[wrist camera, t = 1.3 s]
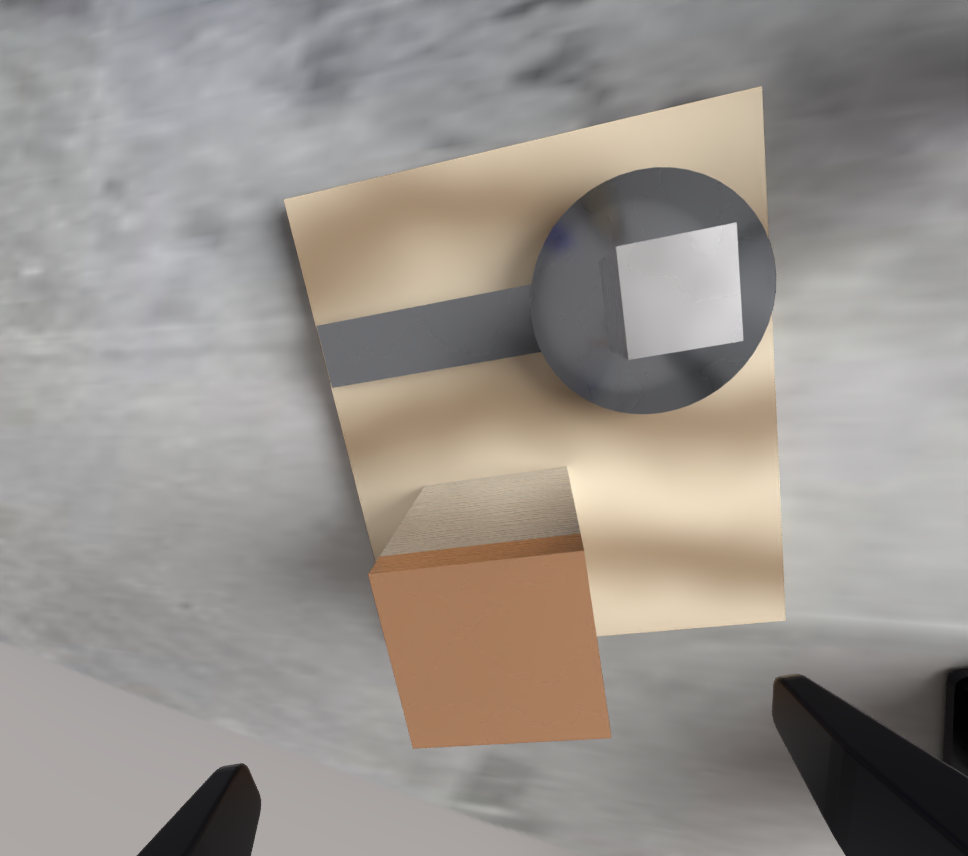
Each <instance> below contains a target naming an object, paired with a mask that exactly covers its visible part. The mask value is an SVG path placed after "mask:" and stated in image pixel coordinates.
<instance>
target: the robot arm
mask: <svg viewBox="0 0 968 856" xmlns="http://www.w3.org/2000/svg"><path fill="white" fill-rule="evenodd" d="M772 716H773V720H774V723H775V726H776V728H777V730H778V732H779V734H780V736H781V738H782V740H783V742H784V744H785V746H786V747H787V749H788V751H789V753H790V755H791V757H792V759H793V761H794V763H795V765H796V766H797V768H798V770H799V772H800V774H801V776H802V778H803V780H804V782H805V783H806V785H807V787H808V789H809V791H810V793H811V795H812V797H813V799H814V801H815V802H816V804H817V806H818V808H819V810H820V812H821V814H822V816H823V818H824V819H825V821H826V823H827V825H828V827H829V828H830V830H831V832H832V834H833V836H834V837H835V839H836V841H837V842H838V844H839V846H840V847H841V849H842V850H843V852H844V854H845V855H846V856H968V669H964V670H957V671H954V672H952V673H951V674H950V675H949V676H948V678H947V688H946V712H945V737H944V761H941V760H940V759H938V758H936V757H935V756H933V755H931V754H930V753H928V752H927V751H925V750H923V749H922V748H920V747H919V746H917V745H915V744H914V743H912V742H911V741H909V740H907V739H906V738H904V737H902V736H901V735H899V734H898V733H896V732H894V731H893V730H891V729H890V728H888V727H886V726H885V725H883V724H881V723H880V722H878V721H877V720H875V719H873V718H872V717H870V716H869V715H867V714H865V713H864V712H862V711H860V710H859V709H857V708H856V707H854V706H852V705H851V704H849V703H848V702H846V701H844V700H843V699H841V698H840V697H838V696H836V695H835V694H833V693H831V692H830V691H828V690H827V689H825V688H823V687H822V686H820V685H819V684H817V683H815V682H814V681H812V680H810V679H809V678H807V677H805V676H803V675H801V674H792V675H786V676H779V677H777V678H776V679H775V680H774V684H773V703H772ZM260 811H261V798H260V794H259V791H258V789H257V787H256V784H255V782H254V780H253V778H252V775H251V773H250V771H249V769H248V767H247V766H246V765H245V764H243V763H240V764H234V765H228V766H223V767H220V768H219V769H217V770H216V771H215V772H214V773H213V774H212V775H211V776H210V777H209V778H208V779H207V781H205V783H204V784H203V785H202V786H201V787H200V788H199V789H198V790H197V791H196V792H195V793H194V795H192V797H191V798H190V799H189V800H188V801H187V802H186V803H185V804H184V805H183V806H182V807H181V808H180V810H179V811H178V812H177V813H176V814H175V815H174V816H173V817H172V818H171V819H170V820H169V822H167V824H166V825H165V826H164V827H163V828H162V829H161V830H160V831H159V832H158V833H157V834H156V835H155V837H154V838H153V839H152V840H151V841H150V842H149V843H148V844H147V845H146V846H145V847H144V848H143V849H142V851H141V852H140V853H139V854H138V855H137V856H251V852H252V848H253V843H254V839H255V834H256V829H257V825H258V820H259V816H260Z"/></svg>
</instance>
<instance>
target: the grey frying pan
mask: <svg viewBox="0 0 968 856" xmlns="http://www.w3.org/2000/svg"><path fill="white" fill-rule="evenodd" d="M775 293H776V269H775V260H774V255H773V251H772V247H771V243H770V241H769V238H768V236H767V234H766V231H765V229H764V227H763V225H762V223H761V222H760V220H759V218H758V217H757V215H756V213H755V212H754V211H753V210H752V209H751V207H750V206H749V205H748V204H747V203H746V201H745V200H744V199H743V198H741V197H740V196H739V195H738V194H737V193H736V192H735V191H734V190H732V189H731V188H729V187H728V186H726V185H725V184H723V183H721V182H720V181H718V180H716V179H714V178H712V177H709V176H707V175H705V174H702V173H699V172H695V171H691V170H688V169H681V168H673V167H653V168H646V169H640V170H635V171H631V172H628V173H625V174H621V175H618V176H616V177H614V178H612V179H609V180H607V181H605V182H603V183H601V184H600V185H598V186H596V187H595V188H593V189H591V190H590V191H588V192H587V193H586V194H585V195H583V196H582V197H581V198H579V199H578V200H577V201H576V202H575V203H574V204H573V205H572V206H571V207H570V208H569V209H568V210H567V211H566V212H565V213H564V214H563V215H562V216H561V218H560V219H559V220H558V222H557V223H556V224H555V226H554V227H553V228H552V230H551V232H550V233H549V235H548V237H547V239H546V240H545V242H544V244H543V247H542V249H541V251H540V253H539V256H538V258H537V262H536V265H535V268H534V272H533V277H532V283H531V284H530V285H525V286H520V287H515V288H509V289H504V290H499V291H494V292H489V293H484V294H478V295H473V296H468V297H463V298H458V299H453V300H447V301H442V302H437V303H432V304H427V305H422V306H416V307H411V308H406V309H401V310H396V311H391V312H385V313H380V314H375V315H370V316H365V317H360V318H354V319H349V320H344V321H339V322H334V323H329V324H324V325H318V326H316V327H317V330H318V334H319V338H320V342H321V346H322V350H323V354H324V358H325V362H326V366H327V370H328V374H329V378H330V382H331V386H332V388H335V387H341V386H347V385H353V384H358V383H364V382H370V381H376V380H382V379H387V378H393V377H399V376H405V375H411V374H416V373H422V372H428V371H434V370H440V369H445V368H451V367H457V366H463V365H469V364H474V363H480V362H486V361H492V360H498V359H503V358H509V357H515V356H521V355H527V354H532V353H538V352H542V354H543V356H544V358H545V360H546V362H547V363H548V364H549V366H550V367H551V369H552V370H553V372H554V373H555V374H556V375H557V376H558V377H559V378H560V380H561V381H562V382H563V383H564V384H565V385H566V386H568V387H569V388H570V389H571V390H572V391H574V392H575V393H576V394H578V395H579V396H581V397H583V398H584V399H586V400H587V401H589V402H591V403H594V404H596V405H598V406H600V407H603V408H606V409H610V410H613V411H617V412H623V413H629V414H656V413H663V412H668V411H673V410H677V409H680V408H683V407H686V406H689V405H691V404H694V403H696V402H698V401H700V400H702V399H704V398H706V397H707V396H709V395H711V394H712V393H714V392H715V391H717V390H719V389H720V388H721V387H722V386H724V385H725V384H726V383H727V382H728V381H730V380H731V379H732V378H733V377H734V376H735V375H736V374H737V373H738V372H739V371H740V370H741V369H742V368H743V367H744V365H745V364H746V363H747V361H748V360H749V359H750V357H751V356H752V355H753V353H754V352H755V350H756V348H757V347H758V345H759V343H760V342H761V340H762V338H763V335H764V333H765V331H766V329H767V326H768V324H769V320H770V317H771V314H772V310H773V306H774V300H775Z"/></svg>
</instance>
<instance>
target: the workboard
mask: <svg viewBox="0 0 968 856" xmlns="http://www.w3.org/2000/svg"><path fill="white" fill-rule="evenodd" d="M653 167H673V168H681V169H688V170H691V171H695V172H699V173H702V174H705V175H707V176H709V177H712V178H714V179H716V180H718V181H720V182H721V183H723V184H725V185H726V186H728V187H729V188H731V189H732V190H734V191H735V192H736V193H737V194H738V195H739V196H740V197H741V198H743V199H744V200H745V201H746V203H747V204H748V205H749V206H750V207H751V209H752V210H753V211H754V212H755V213H756V215H757V217H758V218H759V220H760V222H761V223H762V225H763V227H764V229H765V231H766V234H767V236H768V238H769V235H768V212H767V190H766V168H765V145H764V123H763V100H762V86H760V87H755V88H751V89H747V90H743V91H739V92H734V93H730V94H726V95H722V96H718V97H713V98H709V99H705V100H701V101H697V102H692V103H688V104H684V105H680V106H676V107H671V108H667V109H663V110H659V111H654V112H650V113H646V114H642V115H638V116H633V117H629V118H625V119H621V120H617V121H612V122H608V123H604V124H600V125H596V126H591V127H587V128H583V129H579V130H575V131H570V132H566V133H562V134H558V135H554V136H549V137H545V138H541V139H537V140H533V141H528V142H524V143H520V144H516V145H511V146H507V147H503V148H499V149H495V150H490V151H486V152H482V153H478V154H474V155H469V156H465V157H461V158H457V159H453V160H448V161H444V162H440V163H436V164H432V165H427V166H423V167H419V168H415V169H411V170H406V171H402V172H398V173H394V174H389V175H385V176H381V177H377V178H373V179H368V180H364V181H360V182H356V183H352V184H347V185H343V186H339V187H335V188H331V189H326V190H322V191H318V192H314V193H310V194H305V195H301V196H297V197H293V198H289V199H284V203H285V207H286V211H287V215H288V219H289V223H290V227H291V231H292V235H293V239H294V242H295V246H296V250H297V254H298V258H299V262H300V266H301V270H302V274H303V278H304V282H305V286H306V290H307V294H308V298H309V302H310V306H311V310H312V314H313V318H314V322H315V326H318V325H324V324H329V323H334V322H339V321H344V320H349V319H354V318H360V317H365V316H370V315H375V314H380V313H385V312H391V311H396V310H401V309H406V308H411V307H416V306H422V305H427V304H432V303H437V302H442V301H447V300H453V299H458V298H463V297H468V296H473V295H478V294H484V293H489V292H494V291H499V290H504V289H509V288H515V287H520V286H525V285H530V284H531V283H532V277H533V272H534V268H535V265H536V262H537V258H538V256H539V253H540V251H541V249H542V247H543V244H544V242H545V240H546V239H547V237H548V235H549V233H550V232H551V230H552V228H553V227H554V226H555V224H556V223H557V222H558V220H559V219H560V218H561V216H562V215H563V214H564V213H565V212H566V211H567V210H568V209H569V208H570V207H571V206H572V205H573V204H574V203H575V202H576V201H577V200H578V199H579V198H581V197H582V196H583V195H585V194H586V193H587V192H588V191H590V190H591V189H593V188H595V187H596V186H598V185H600V184H601V183H603V182H605V181H607V180H609V179H612V178H614V177H616V176H618V175H621V174H625V173H628V172H631V171H635V170H640V169H646V168H653ZM316 329H317V327H316ZM317 333H318V330H317ZM318 337H319V334H318ZM319 341H320V338H319ZM320 345H321V342H320ZM321 349H322V346H321ZM322 353H323V350H322ZM323 357H324V354H323ZM324 361H325V358H324ZM325 365H326V362H325ZM326 369H327V366H326ZM327 373H328V370H327ZM328 377H329V374H328ZM329 381H330V378H329ZM330 385H331V382H330ZM331 389H332V393H333V397H334V401H335V405H336V409H337V413H338V416H339V420H340V424H341V428H342V432H343V436H344V440H345V444H346V448H347V452H348V456H349V460H350V464H351V468H352V472H353V476H354V480H355V484H356V488H357V492H358V496H359V500H360V503H361V507H362V511H363V515H364V519H365V523H366V527H367V531H368V535H369V539H370V543H371V547H372V551H373V555H374V559H375V563H376V561H377V560H378V558H379V557H380V555H381V554H382V552H383V550H384V549H385V547H386V546H387V544H388V543H389V541H390V539H391V538H392V536H393V535H394V533H395V532H396V530H397V529H398V527H399V525H400V524H401V522H402V521H403V519H404V518H405V516H406V514H407V513H408V511H409V510H410V508H411V507H412V505H413V503H414V502H415V500H416V499H417V497H418V496H419V494H420V493H421V491H422V489H423V488H424V486H426V485H434V484H441V483H448V482H456V481H463V480H470V479H478V478H485V477H492V476H500V475H507V474H514V473H522V472H529V471H536V470H544V469H551V468H558V467H566V466H567V469H568V474H569V479H570V484H571V489H572V494H573V498H574V503H575V508H576V513H577V518H578V523H579V528H580V533H581V537H582V542H583V547H584V553H585V559H586V566H587V573H588V580H589V587H590V594H591V601H592V608H593V614H594V621H595V628H596V635H597V636H608V635H620V634H632V633H644V632H656V631H667V630H679V629H691V628H703V627H715V626H727V625H739V624H751V623H763V622H775V621H786V615H785V593H784V570H783V548H782V526H781V503H780V481H779V459H778V436H777V414H776V391H775V369H774V347H773V324H772V314H771V317H770V320H769V324H768V326H767V329H766V331H765V333H764V335H763V338H762V340H761V342H760V343H759V345H758V347H757V348H756V350H755V352H754V353H753V355H752V356H751V357H750V359H749V360H748V361H747V363H746V364H745V365H744V367H743V368H742V369H741V370H740V371H739V372H738V373H737V374H736V375H735V376H734V377H733V378H732V379H731V380H730V381H728V382H727V383H726V384H725V385H724V386H722V387H721V388H720V389H719V390H717V391H715V392H714V393H712V394H711V395H709V396H707V397H706V398H704V399H702V400H700V401H698V402H696V403H694V404H691V405H689V406H686V407H683V408H680V409H677V410H673V411H668V412H663V413H656V414H629V413H623V412H617V411H613V410H610V409H606V408H603V407H600V406H598V405H596V404H594V403H591V402H589V401H587V400H586V399H584V398H583V397H581V396H579V395H578V394H576V393H575V392H574V391H572V390H571V389H570V388H569V387H568V386H566V385H565V384H564V383H563V382H562V381H561V380H560V378H559V377H558V376H557V375H556V374H555V373H554V372H553V370H552V369H551V367H550V366H549V364H548V363H547V362H546V360H545V358H544V356H543V354H542V352H538V353H532V354H527V355H521V356H515V357H509V358H503V359H498V360H492V361H486V362H480V363H474V364H469V365H463V366H457V367H451V368H445V369H440V370H434V371H428V372H422V373H416V374H411V375H405V376H399V377H393V378H387V379H382V380H376V381H370V382H364V383H358V384H353V385H347V386H341V387H335V388H332V386H331Z"/></svg>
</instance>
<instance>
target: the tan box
mask: <svg viewBox="0 0 968 856" xmlns="http://www.w3.org/2000/svg"><path fill="white" fill-rule="evenodd" d="M368 576H369V580H370V584H371V587H372V591H373V595H374V599H375V603H376V607H377V611H378V615H379V618H380V622H381V626H382V630H383V634H384V638H385V642H386V646H387V649H388V653H389V657H390V661H391V665H392V669H393V673H394V677H395V680H396V684H397V688H398V692H399V696H400V700H401V704H402V708H403V711H404V715H405V719H406V723H407V727H408V731H409V735H410V739H411V742H412V746H413V749H414V748H433V747H452V746H471V745H489V744H508V743H527V742H546V741H565V740H583V739H602V738H611V731H610V725H609V718H608V711H607V704H606V697H605V690H604V683H603V676H602V670H601V663H600V656H599V649H598V642H597V635H596V628H595V621H594V614H593V608H592V601H591V594H590V587H589V580H588V573H587V566H586V559H585V553H584V547H583V542H582V537H581V533H580V528H579V523H578V518H577V513H576V508H575V503H574V498H573V494H572V489H571V484H570V479H569V474H568V469H567V466H566V467H558V468H551V469H544V470H536V471H529V472H522V473H514V474H507V475H500V476H492V477H485V478H478V479H470V480H463V481H456V482H448V483H441V484H434V485H426V486H424V488H423V489H422V491H421V493H420V494H419V496H418V497H417V499H416V500H415V502H414V503H413V505H412V507H411V508H410V510H409V511H408V513H407V514H406V516H405V518H404V519H403V521H402V522H401V524H400V525H399V527H398V529H397V530H396V532H395V533H394V535H393V536H392V538H391V539H390V541H389V543H388V544H387V546H386V547H385V549H384V550H383V552H382V554H381V555H380V557H379V558H378V560H377V561H376V563H375V564H374V566H373V568H372V569H371V571H370V572H369V574H368Z"/></svg>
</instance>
